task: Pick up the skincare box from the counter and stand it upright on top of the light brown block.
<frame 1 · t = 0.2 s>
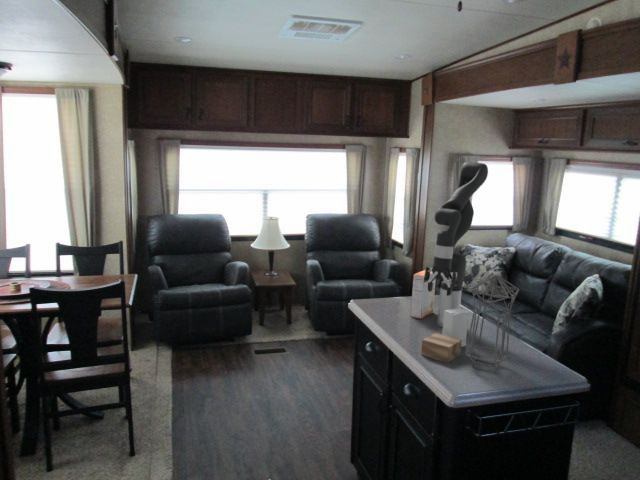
hand: (439, 293, 224), 18 cm above the table, tool pointing down, fingers open, 8 cm apart
geometric lantern: (485, 366, 195), on the table
skincare box: (453, 345, 214), on the table
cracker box: (421, 315, 252), on the table
light brown block: (440, 354, 204), on the table
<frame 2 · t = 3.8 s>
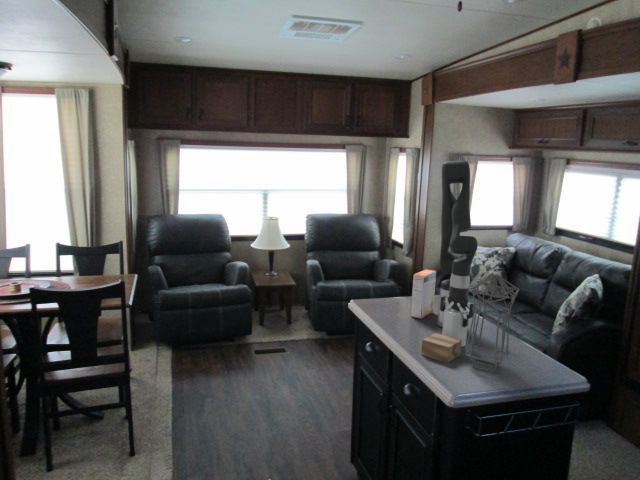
hand: (455, 324, 213), 9 cm above the table, tool pointing down, fingers closed on skincare box, 7 cm apart
skincare box: (453, 345, 214), on the table, touching gripper
everything else where it was.
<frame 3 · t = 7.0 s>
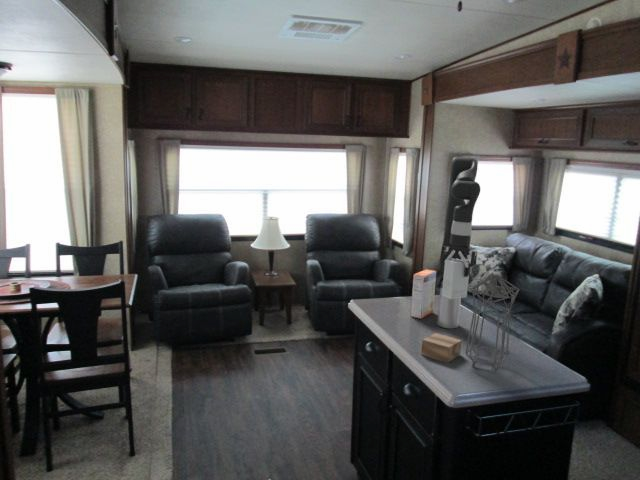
hand: (456, 274, 205), 30 cm above the table, tool pointing down, fingers closed on skincare box, 7 cm apart
skincare box: (453, 297, 206), point 21 cm above the table, touching gripper
everything else where it was.
when the fingers open (16 cm above the table, at t = 10.5 s): skincare box drops 1 cm, resting on light brown block.
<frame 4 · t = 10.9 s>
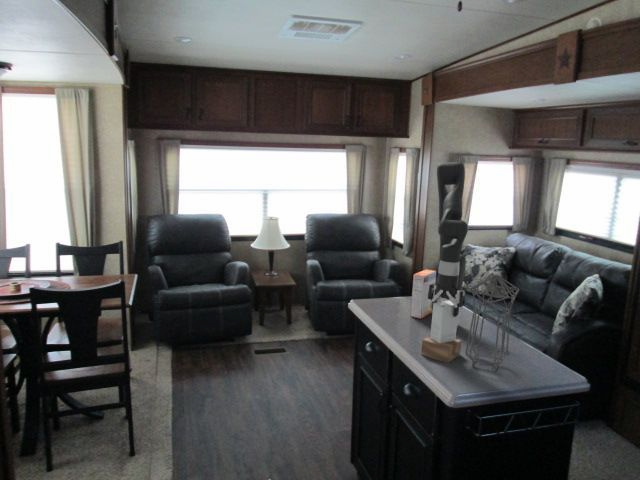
hand: (444, 313, 201), 17 cm above the table, tool pointing down, fingers open, 8 cm apart
skincare box: (442, 340, 202), point 6 cm above the table, touching light brown block
everything else where it was.
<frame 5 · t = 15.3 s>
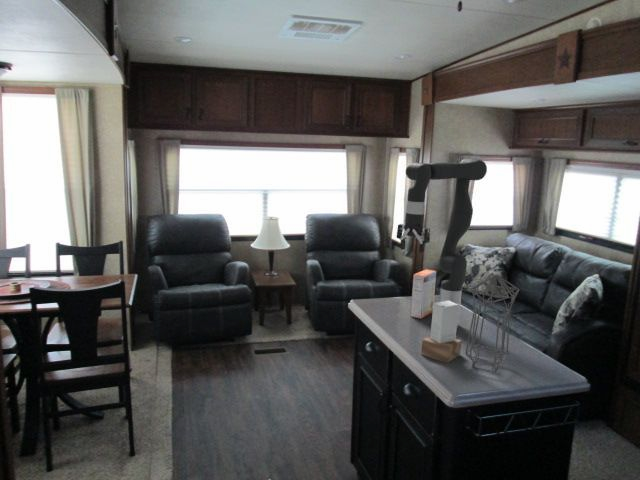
hand: (411, 250, 219), 36 cm above the table, tool pointing down, fingers open, 8 cm apart
nothing on the table moved.
at the end: skincare box 0.3 cm off-centre on the light brown block, point 5.8 cm above the light brown block's base; skincare box tilted 0°; the gripper is holding nothing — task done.
